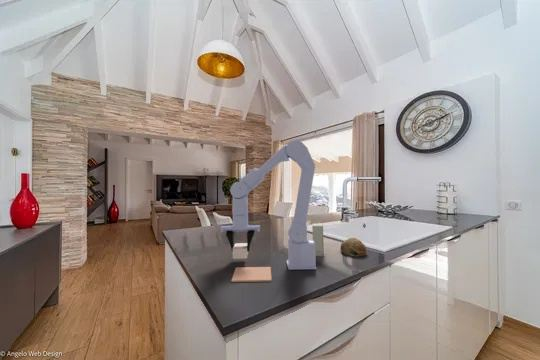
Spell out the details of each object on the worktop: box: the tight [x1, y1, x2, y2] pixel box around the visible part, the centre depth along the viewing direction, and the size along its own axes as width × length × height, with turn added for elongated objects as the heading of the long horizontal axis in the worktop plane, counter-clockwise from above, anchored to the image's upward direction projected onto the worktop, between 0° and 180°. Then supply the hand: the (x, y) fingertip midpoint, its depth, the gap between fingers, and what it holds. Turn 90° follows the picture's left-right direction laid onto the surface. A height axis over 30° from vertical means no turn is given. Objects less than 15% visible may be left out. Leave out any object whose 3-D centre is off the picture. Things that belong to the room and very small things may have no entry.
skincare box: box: [311, 223, 325, 257], centre depth 90 cm, size 6×4×12 cm
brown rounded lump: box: [340, 237, 367, 257], centre depth 92 cm, size 10×10×8 cm
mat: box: [231, 266, 272, 283], centre depth 71 cm, size 12×10×1 cm
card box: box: [232, 242, 249, 260], centre depth 82 cm, size 5×7×4 cm
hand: (240, 250), depth 82 cm, fingers closed on card box, 5 cm apart
